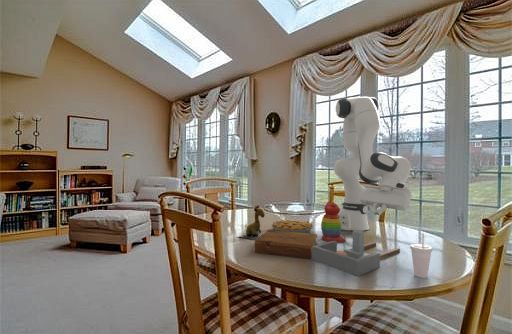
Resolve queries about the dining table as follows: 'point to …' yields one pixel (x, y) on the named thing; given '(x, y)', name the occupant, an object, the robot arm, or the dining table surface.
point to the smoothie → (421, 258)
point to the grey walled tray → (344, 259)
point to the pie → (292, 226)
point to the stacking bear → (331, 224)
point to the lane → (384, 254)
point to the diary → (286, 244)
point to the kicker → (357, 245)
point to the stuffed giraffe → (255, 224)
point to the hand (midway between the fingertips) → (376, 213)
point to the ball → (341, 252)
